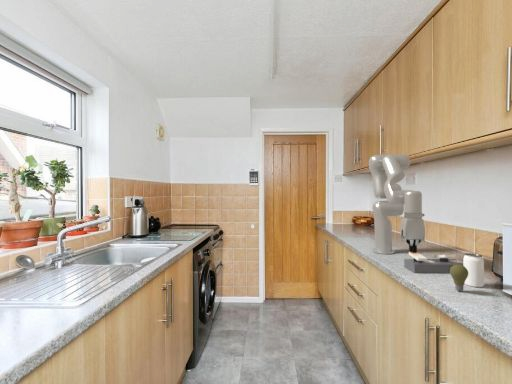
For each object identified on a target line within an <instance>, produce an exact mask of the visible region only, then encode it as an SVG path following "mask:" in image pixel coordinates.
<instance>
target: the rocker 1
mask: <svg viewBox="0 0 512 384" xmlns="http://www.w3.org/2000/svg"><path fill="white" fill-rule="evenodd" d="M408 256H411V257H412V259H413V258H415V259H416V260H418V261H427V259H428V258H427V257H426V256H424V255H423V254H421V253H419V252H418V251H417V252H416V253H412V252H410V251H408Z"/></svg>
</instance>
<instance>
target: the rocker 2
mask: <svg viewBox="0 0 512 384" xmlns="http://www.w3.org/2000/svg"><path fill="white" fill-rule="evenodd" d="M433 257H434V258H433V259H440V258H448V259H452V258H455V254H434V255H433Z"/></svg>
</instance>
